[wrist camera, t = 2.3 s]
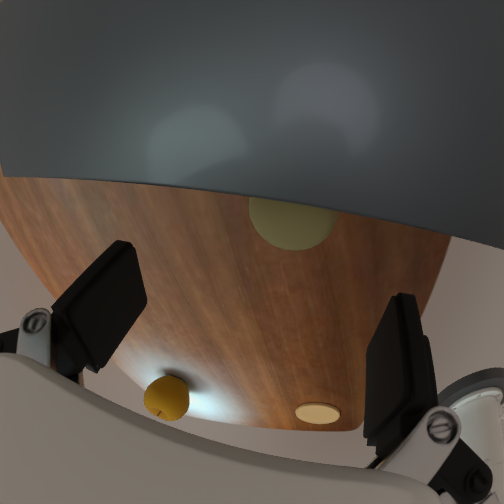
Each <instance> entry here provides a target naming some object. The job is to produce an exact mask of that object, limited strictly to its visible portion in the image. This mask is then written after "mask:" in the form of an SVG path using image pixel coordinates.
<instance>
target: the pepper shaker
mask: <svg viewBox="0 0 504 504" xmlns="http://www.w3.org/2000/svg"><path fill="white" fill-rule="evenodd" d="M249 215H250V218H251V221H252V223H253V226H254V227H255V229H256V230H257V231H258V233H259V234H260V235H261V236H262V237H263V238H264V239H265V240H267V241H268V242H269V243H270V244H272V245H274V246H276V247H279V248H281V249H286V250H294V251H296V250H303V249H309V248H311V247H313V246H316V245H318V244H320V243H321V242H322V241H323V240H324V239H325V238H326V237H328V236H329V235H330V233H331V231H332V230H333V228H334V226H335V224H336V222H337V219H338V211H334V210H329V209H323V208H317V207H312V206H306V205H300V204H294V203H288V202H281V201H275V200H269V199H262V198H255V197H249Z"/></svg>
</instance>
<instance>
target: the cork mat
mask: <svg viewBox="0 0 504 504" xmlns="http://www.w3.org/2000/svg"><path fill="white" fill-rule="evenodd" d="M296 416H297V417H298V418H300V419H301V420H303V421H306V422H309V423H315V424H326V423H331V422H334V421H336V420H337V419H338V418H339V416H340V412H339V410H338V409H337V408H336V407H334V406H332V405H329V404H325V403H305V404H302V405H300V406H298V407H297V409H296Z"/></svg>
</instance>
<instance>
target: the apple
mask: <svg viewBox="0 0 504 504" xmlns="http://www.w3.org/2000/svg"><path fill="white" fill-rule="evenodd" d="M144 405H145V407H146V408H147V410H148V411H149V412H151V413H152V414H153V415H155V416H157V417H159V418H162V419H164V420H166V421H175V420H178V419H180V418H181V417H182V416H183V415H184V414H185V413H186V412H187V410H188V408H189V391H188V387H187V384H186V383H185V382H183V381H182V380H181V379H179V378H176V377H174V376H169V375H168V376H163V377H161V378H158V379H157V380H155V381H154V382H152V383H151V384H150V385H149V386H148V388H147V389H146V391H145V394H144Z"/></svg>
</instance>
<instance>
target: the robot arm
mask: <svg viewBox="0 0 504 504" xmlns="http://www.w3.org/2000/svg"><path fill="white" fill-rule="evenodd" d="M146 304H147V296H146V292H145V288H144V284H143V280H142V276H141V271H140V267H139V263H138V258H137V254H136V250H135V248H134V247H133V245H132V244H131V243H130V242H126V241H121V240H116V241H115V242H114V243H113V244H112V245H111V246H110V247H109V248H108V249H106V250H105V251H104V252H103V253H102V254H101V255H100V256H99V257H98V258H97V259H96V260H95V261H94V262H93V263H92V264H91V265H90V266H89V267H88V268H87V269H86V270H85V271H84V272H83V273H82V274H81V275H80V276H79V277H78V278H77V279H76V280H75V281H74V282H73V284H72V285H71V286H70V287H69V288H68V289H67V290H66V291H65V292H64V293H63V294H62V295H61V296H60V297H59V298H58V300H57V301H56V302H55V303H54V304H53V305H52V306H51V308H52V310H53V313H52V314H50V312H49V311H48V310H47V309H45V308H36V309H34V310H31V311H30V312H28V313H27V314H26V315H25V316H24V317H23V319H22V320H21V323H20V327H19V328H17V329H14V330H10V331H7V332H4V333H0V504H504V446H503V437H502V430H501V423H500V420H503V419H504V407H503V408H501V405H500V402H501V400H502V398H503V393H502V390H501V389H500V388H498V387H487V388H482V389H479V390H476V391H473V392H471V393H469V394H467V395H465V396H463V397H461V398H460V399H458V400H457V401H455V402H454V403H453V404H452V405H451V406H450V407H445V406H438V396H437V388H436V380H435V373H434V366H433V360H432V354H431V349H430V343H429V339H428V337H427V336H426V335H423V331H422V325H421V320H420V315H419V311H418V306H417V302H416V298H415V296H414V295H411V294H405V293H398V294H397V295H396V296H392V297H391V299H390V301H389V303H388V306H387V308H386V310H385V312H384V314H383V317H382V319H381V321H380V323H379V325H378V327H377V329H376V331H375V333H374V335H373V337H372V339H371V341H370V343H369V345H368V348H367V353H366V396H365V416H364V431H363V436H364V438H367V446H376V455H377V456H376V457H375V458H374V459H373V460H372V461H371V462H370V463H369V464H368V465H367V466H366V467H365V468H356V467H347V466H337V465H329V464H321V463H314V462H307V461H301V460H295V459H289V458H283V457H278V456H273V455H267V454H263V453H259V452H254V451H250V450H246V449H242V448H238V447H233V446H230V445H226V444H223V443H219V442H216V441H212V440H209V439H205V438H202V437H199V436H196V435H193V434H190V433H187V432H184V431H181V430H179V429H176V428H173V427H170V426H167V425H165V424H162V423H160V422H157V421H155V420H152V419H150V418H147V417H145V416H142V415H140V414H138V413H135V412H133V411H131V410H129V409H127V408H124V407H122V406H120V405H118V404H116V403H114V402H112V401H109V400H107V399H105V398H103V397H101V396H99V395H97V394H95V393H93V392H92V391H90V390H88V389H86V388H85V387H84V379H83V369H84V367H86V368H87V369H88V370H90V371H92V372H94V373H98V371H99V370H100V368H103V367H104V366H105V365H106V364H107V362H108V361H109V359H110V358H111V356H112V355H113V353H114V352H115V350H116V349H117V347H118V346H119V344H120V343H121V341H122V340H123V338H124V337H125V335H126V334H127V333H128V331H129V330H130V328H131V327H132V325H133V324H134V322H135V321H136V320H137V318H138V317H139V315H140V314H141V312H142V311H143V310H144V308H145V307H146Z"/></svg>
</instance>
